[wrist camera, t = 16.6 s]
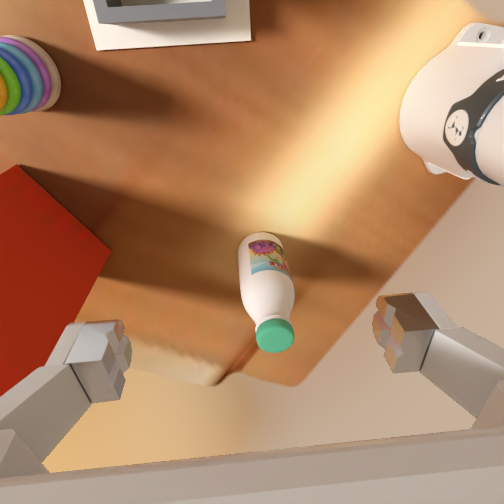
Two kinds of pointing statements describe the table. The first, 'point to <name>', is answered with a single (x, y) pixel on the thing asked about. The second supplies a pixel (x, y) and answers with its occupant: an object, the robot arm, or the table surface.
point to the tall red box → (39, 274)
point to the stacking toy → (26, 77)
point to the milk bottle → (267, 290)
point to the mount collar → (167, 22)
